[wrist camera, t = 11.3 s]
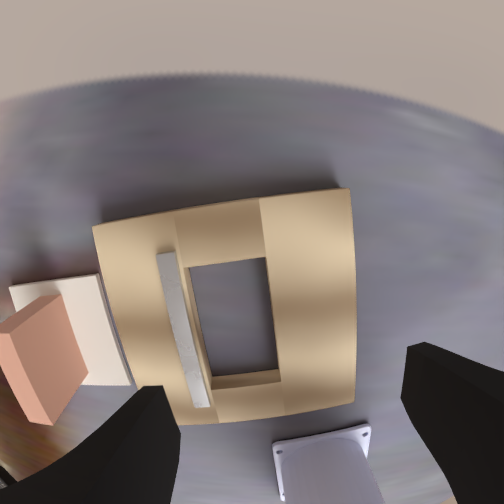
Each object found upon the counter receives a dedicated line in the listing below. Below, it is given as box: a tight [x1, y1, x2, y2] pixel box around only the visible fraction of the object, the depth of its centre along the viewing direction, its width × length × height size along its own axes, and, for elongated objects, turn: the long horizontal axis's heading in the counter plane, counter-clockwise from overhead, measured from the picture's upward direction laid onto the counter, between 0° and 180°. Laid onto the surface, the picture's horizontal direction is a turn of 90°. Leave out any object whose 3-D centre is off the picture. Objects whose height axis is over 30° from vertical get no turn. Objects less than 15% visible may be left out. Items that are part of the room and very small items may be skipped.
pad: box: [9, 273, 132, 385], centre depth 18 cm, size 8×8×1 cm
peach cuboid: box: [0, 294, 89, 426], centre depth 15 cm, size 6×2×6 cm, turn 7°
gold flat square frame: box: [92, 188, 357, 425], centre depth 18 cm, size 14×14×2 cm
